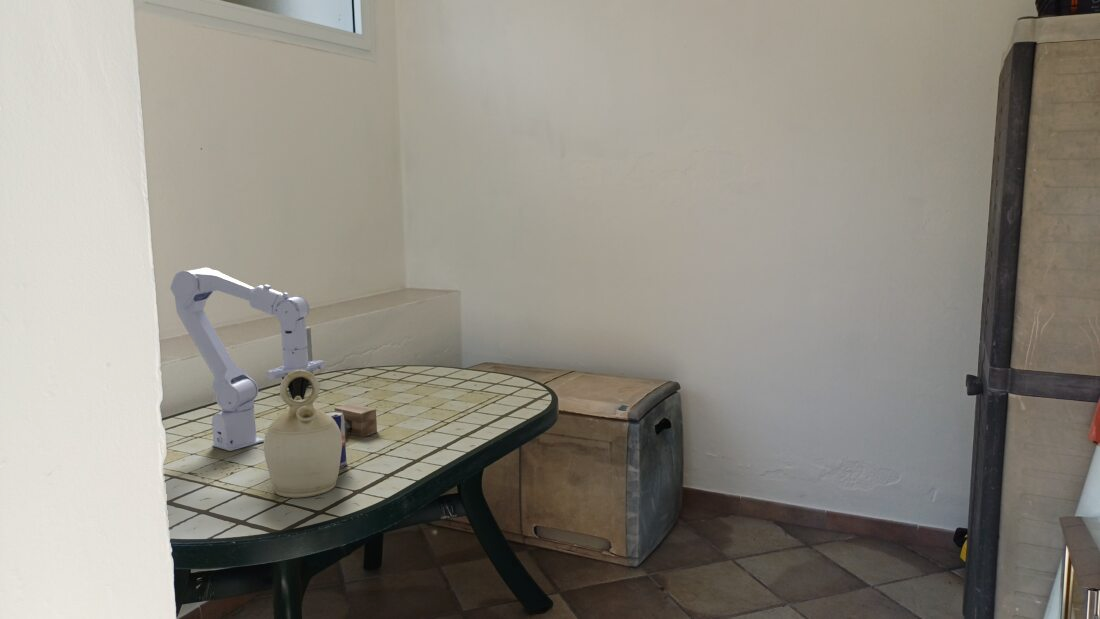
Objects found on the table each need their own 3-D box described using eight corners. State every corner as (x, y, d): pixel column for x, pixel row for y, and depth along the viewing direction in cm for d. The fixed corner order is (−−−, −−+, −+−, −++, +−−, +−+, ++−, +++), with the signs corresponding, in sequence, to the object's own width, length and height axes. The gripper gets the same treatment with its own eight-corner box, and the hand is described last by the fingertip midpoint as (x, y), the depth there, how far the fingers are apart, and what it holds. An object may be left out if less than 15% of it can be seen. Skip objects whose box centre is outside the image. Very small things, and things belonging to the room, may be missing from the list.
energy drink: (333, 471, 181) (330, 418, 180) (316, 467, 184) (313, 415, 182) (351, 464, 186) (348, 412, 184) (334, 460, 189) (331, 409, 187)
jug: (337, 499, 165) (330, 376, 161) (258, 503, 164) (248, 379, 160) (349, 473, 180) (343, 360, 176) (276, 476, 179) (269, 363, 175)
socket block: (361, 437, 206) (360, 413, 205) (335, 430, 212) (334, 407, 211) (377, 432, 210) (375, 409, 209) (351, 425, 216) (350, 403, 215)
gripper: (278, 354, 189) (282, 412, 191) (330, 344, 200) (333, 399, 202) (260, 351, 193) (264, 408, 195) (312, 341, 205) (315, 395, 207)
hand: (298, 403), depth 199 cm, fingers closed
